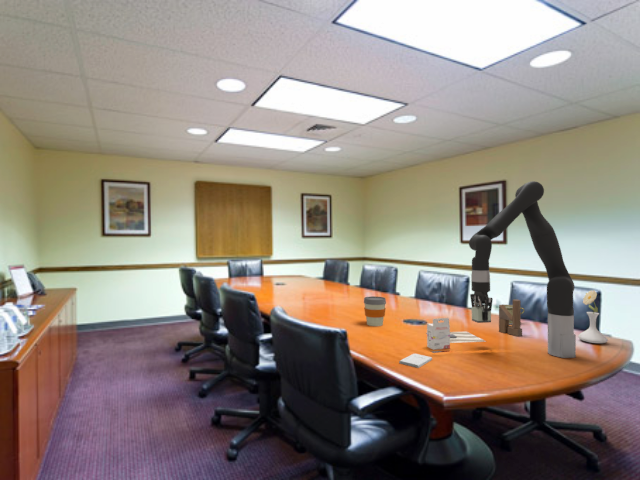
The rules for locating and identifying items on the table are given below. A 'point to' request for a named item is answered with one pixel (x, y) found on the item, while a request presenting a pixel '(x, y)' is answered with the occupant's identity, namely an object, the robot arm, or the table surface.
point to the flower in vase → (592, 322)
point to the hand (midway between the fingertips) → (481, 319)
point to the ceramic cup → (511, 311)
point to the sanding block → (479, 315)
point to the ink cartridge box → (438, 335)
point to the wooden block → (506, 316)
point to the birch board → (465, 337)
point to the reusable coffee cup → (374, 310)
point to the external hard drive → (415, 360)
